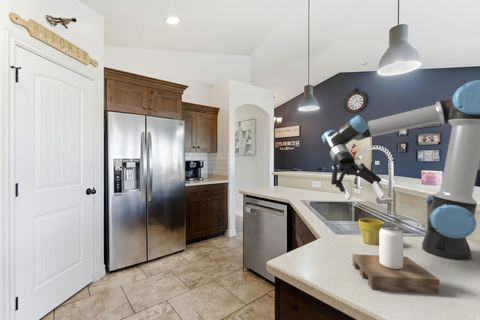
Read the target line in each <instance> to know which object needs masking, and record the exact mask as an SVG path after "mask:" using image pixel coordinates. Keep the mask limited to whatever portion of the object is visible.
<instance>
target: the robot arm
mask: <svg viewBox="0 0 480 320" xmlns="http://www.w3.org/2000/svg"><path fill="white" fill-rule="evenodd" d="M433 124H441V125H445V124H450V125H451V132H450V138H449V142H448V147H447V153H446V157H445V163H444V169H443V174H442V179H441V184H440V188H439V191H438V192H436V193H433V194H432V195H431V194H429V195H428V196H427V199H426V204H427V207H426V210H427V215H426V216H427V219H426V222H427V224H426V225H427V227H426V228H427V229H426V233H425V236H424V238H423V240H422V243H421V247H422V248H421V249H422V250H423V251H425V252H427V253H428V254H431V255H434V256H437V257H442V258H446V259H451V260H460V261H461V260H466V261H467V260H470V259H472V250H471V248H470V245H469V243H468V241H467V238H466V237H469V236H471V235H472V234H473V233H474V232H475V230H476V228H477V219H476V217H475V215H476V212H477V211H476V210H477V206H478V202H477V200H475V199H474V197H473V193H474V191H475V184H476V179H477V173H478V169H479V164H480V79H479V80H478V79H477V80H476V79H475V80H471V81H469V82H467V83H465V84H463V85H462V86H459V88H458V89H456V90H455V92H454V94H453V96H451V97H449V98H446V99H442V100H439V101H437V102H436V103H435V104H433V105H429V106H424V107H421V108H417V109H416V108H415V109H413V110H410V111H404V112H400V113H396V114H392V115H390V116H384V117H380V118H376V119H372V120H368V121H365V119H364V118H363V117H362V116H360V115H355V116H354V117H353V118H350V120H349V121H347V122H346V123H345V124H344V125H342V126H341V127H339V128H338V129H337V130H334V129H329V130H327V131H325V132H324V133H323V134H322V136H321V137H322V138H321V140H322V142H323V145H324V147H325V148H326V150H327V151H328V153H329V155H330V157H331V159H332V160H333V162H334V163H333V165H332V166H331V171H332V173H331V174H332V175H331V185H332V186H335V187H336V188H338V190H339V191H340V193H342V194H343V196H344V197H345V199H346V201H349V200H350V199H351V198H352V193H351V192H350V189H349V188H348V186H347V185H346V182H345V181H343V179H344V178H345V176H356V177H359V178H361V179H362V180H364V181H366V182H368V183H369V184H371V188H372V189H373V191H374V192H375V193H376V195H377V196H378V198H379V199H380V200H382V199H383V198H384V197H385V196H386V193H385V192H384V190H383V188H382V185H381V184H380V182H381V180H382V178H381V177H380V176H379V175H377V173H374V172H373V171H372V170H371V169H369V168H368V167H367V166H366V165H365V164H364V163H362V162H361V163H360V164H357V163H356V162H355V157H354V156H353V155H352V153H351V151H350V150H349V148H348V147H347V144H348V143H349V144H350V142H351V141H353V140H355V141H362V140H364V139H368V138H372V137H377V136H383V135H386V134H391V133H396V132H401V131H405V130H410V129H414V128H420V127H424V126H430V125H433ZM338 171H340V172H341V173H340V176H339V177H338Z"/></svg>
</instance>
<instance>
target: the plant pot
mask: <svg viewBox="0 0 480 320" xmlns="http://www.w3.org/2000/svg"><path fill="white" fill-rule="evenodd" d="M384 225H385V222H384V221H382V220H379V219H374V218H360V219H358V228H359V229H360V232H361V233H360V235H361V239H362V243H364V244H367V245H374V246H375V245H377V246H379V231H380V229H381V226H384Z"/></svg>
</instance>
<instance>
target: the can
mask: <svg viewBox="0 0 480 320" xmlns="http://www.w3.org/2000/svg"><path fill="white" fill-rule="evenodd" d="M378 247H379V248H378V251H379V252H378V254H379V262H380V264H381V265H382V266H384V267H386V268H390V269H401V268H403V256H404V233H403V232H402V228H400V227H399V226H395V225H385V224H384V226H381V229H380V231H379V244H378Z"/></svg>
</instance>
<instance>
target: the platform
mask: <svg viewBox="0 0 480 320" xmlns="http://www.w3.org/2000/svg"><path fill="white" fill-rule="evenodd" d="M352 267H353V268H354V269H355V270H359V275H360V277H361V278H362V279H367V286H368V287H369V288H370V289H371V290H380V291H393V292H395V291H398V292H410V293H411V292H415V293H427V292H434V293H433V294H439V293H440V284H441V283H440V282H441V281H440V280H441V279H440V278H439V277H437V276H435V275H434V274H432V273H431V272H429V271H428V270H427V269H425V268H423V267H422V266H421V265H419V264H418V263H416V262H415V261H414V260H413V259H411V258H409V257H408V256H404V255H403V268H401V269H390V268H386V267H384V266H382V265H381V264H380V262H379V255H378V254H376V255H375V254H357V253H356V254H353V253H352Z"/></svg>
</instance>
